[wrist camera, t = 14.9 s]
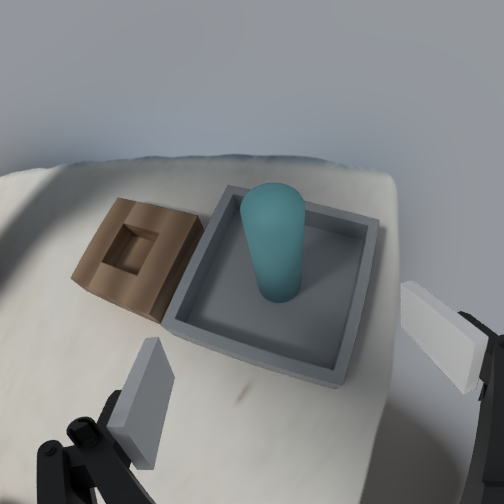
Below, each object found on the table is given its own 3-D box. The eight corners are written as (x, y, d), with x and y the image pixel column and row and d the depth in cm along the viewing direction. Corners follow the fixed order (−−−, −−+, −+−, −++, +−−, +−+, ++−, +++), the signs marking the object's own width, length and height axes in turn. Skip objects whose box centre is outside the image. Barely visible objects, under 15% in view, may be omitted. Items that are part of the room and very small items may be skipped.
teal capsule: (252, 296, 29) (230, 226, 19) (265, 259, 31) (252, 177, 20) (293, 308, 28) (295, 242, 18) (305, 270, 30) (311, 190, 19)
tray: (173, 335, 29) (160, 325, 26) (233, 205, 36) (227, 185, 33) (335, 388, 25) (342, 385, 22) (372, 238, 32) (379, 220, 29)
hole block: (87, 291, 32) (70, 278, 29) (129, 214, 37) (118, 197, 34) (162, 325, 30) (148, 314, 27) (205, 233, 34) (197, 215, 31)
